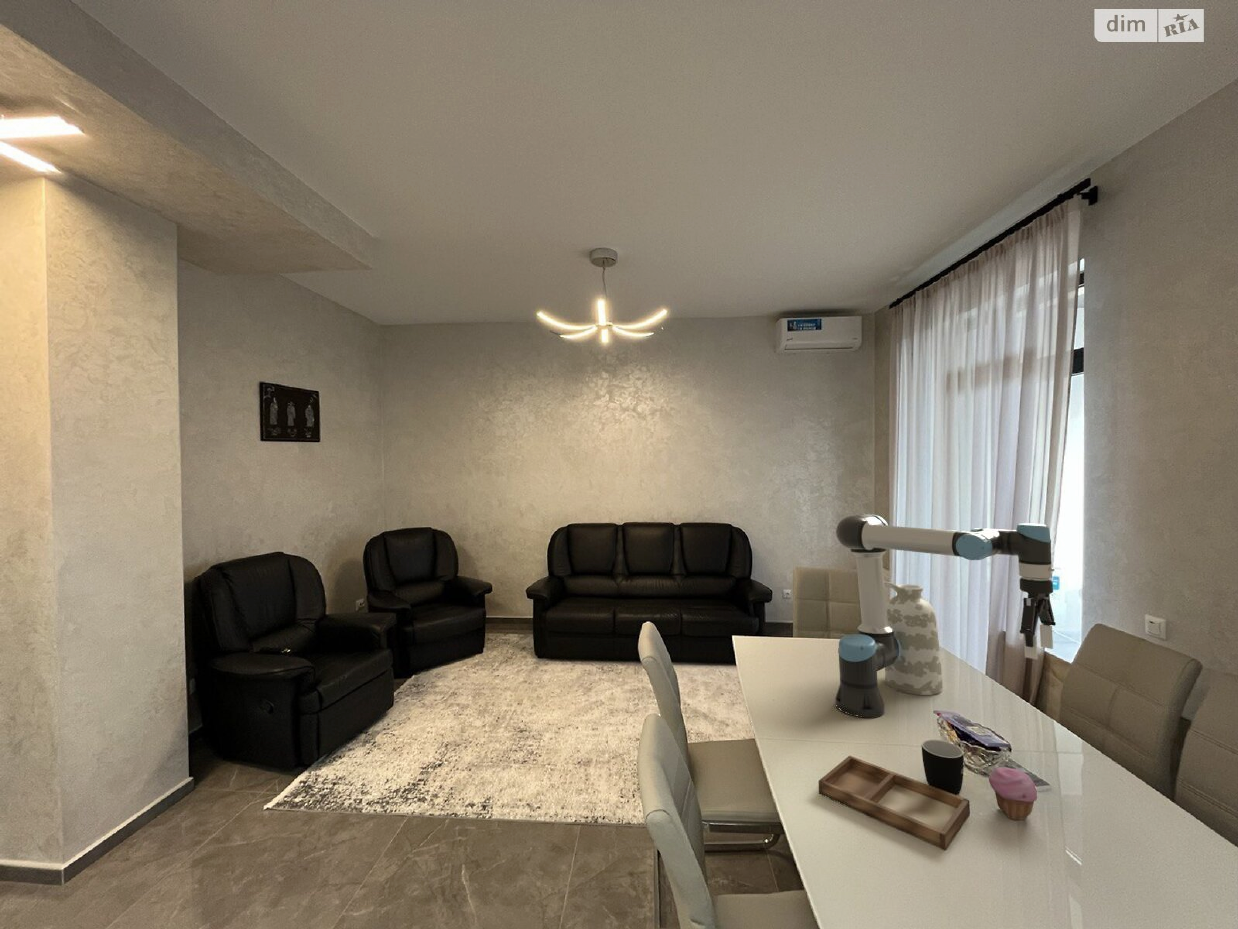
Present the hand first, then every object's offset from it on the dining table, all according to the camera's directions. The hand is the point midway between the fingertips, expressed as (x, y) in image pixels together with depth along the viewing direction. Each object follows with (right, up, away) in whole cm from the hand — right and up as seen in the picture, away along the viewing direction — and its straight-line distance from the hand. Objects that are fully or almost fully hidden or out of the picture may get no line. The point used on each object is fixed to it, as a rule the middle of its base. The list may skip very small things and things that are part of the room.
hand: (1039, 652), depth 150 cm
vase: (-11, -29, +46) cm, 55 cm away
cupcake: (-29, -27, -29) cm, 49 cm away
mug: (-38, -28, -17) cm, 50 cm away
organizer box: (-54, -28, -24) cm, 66 cm away
